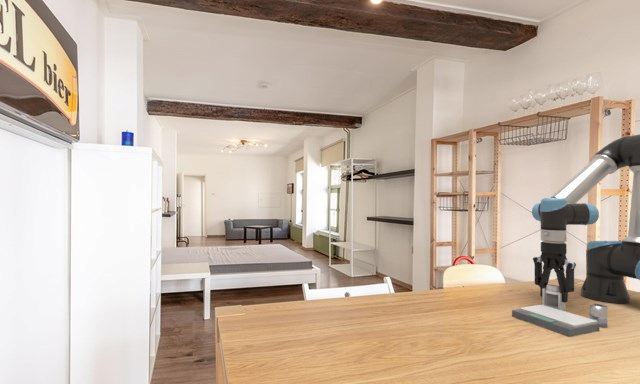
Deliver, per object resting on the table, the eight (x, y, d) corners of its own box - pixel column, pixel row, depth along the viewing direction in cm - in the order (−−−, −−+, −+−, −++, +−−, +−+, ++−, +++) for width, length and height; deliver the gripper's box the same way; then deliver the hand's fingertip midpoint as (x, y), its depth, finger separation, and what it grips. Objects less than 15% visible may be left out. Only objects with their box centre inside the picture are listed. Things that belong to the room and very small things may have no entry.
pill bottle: (564, 312, 118) (564, 287, 118) (549, 311, 119) (549, 286, 119) (557, 308, 123) (557, 284, 123) (543, 307, 124) (543, 283, 124)
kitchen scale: (540, 311, 120) (540, 304, 120) (599, 330, 103) (599, 321, 103) (511, 316, 114) (512, 308, 114) (569, 336, 98) (569, 327, 98)
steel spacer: (594, 321, 111) (594, 302, 111) (610, 326, 107) (610, 306, 107) (586, 323, 109) (586, 304, 109) (601, 328, 105) (602, 308, 105)
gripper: (522, 239, 128) (522, 303, 128) (573, 245, 112) (574, 318, 111) (536, 238, 131) (536, 300, 131) (587, 244, 115) (588, 315, 114)
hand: (553, 308), depth 121 cm, fingers closed on pill bottle, 5 cm apart
